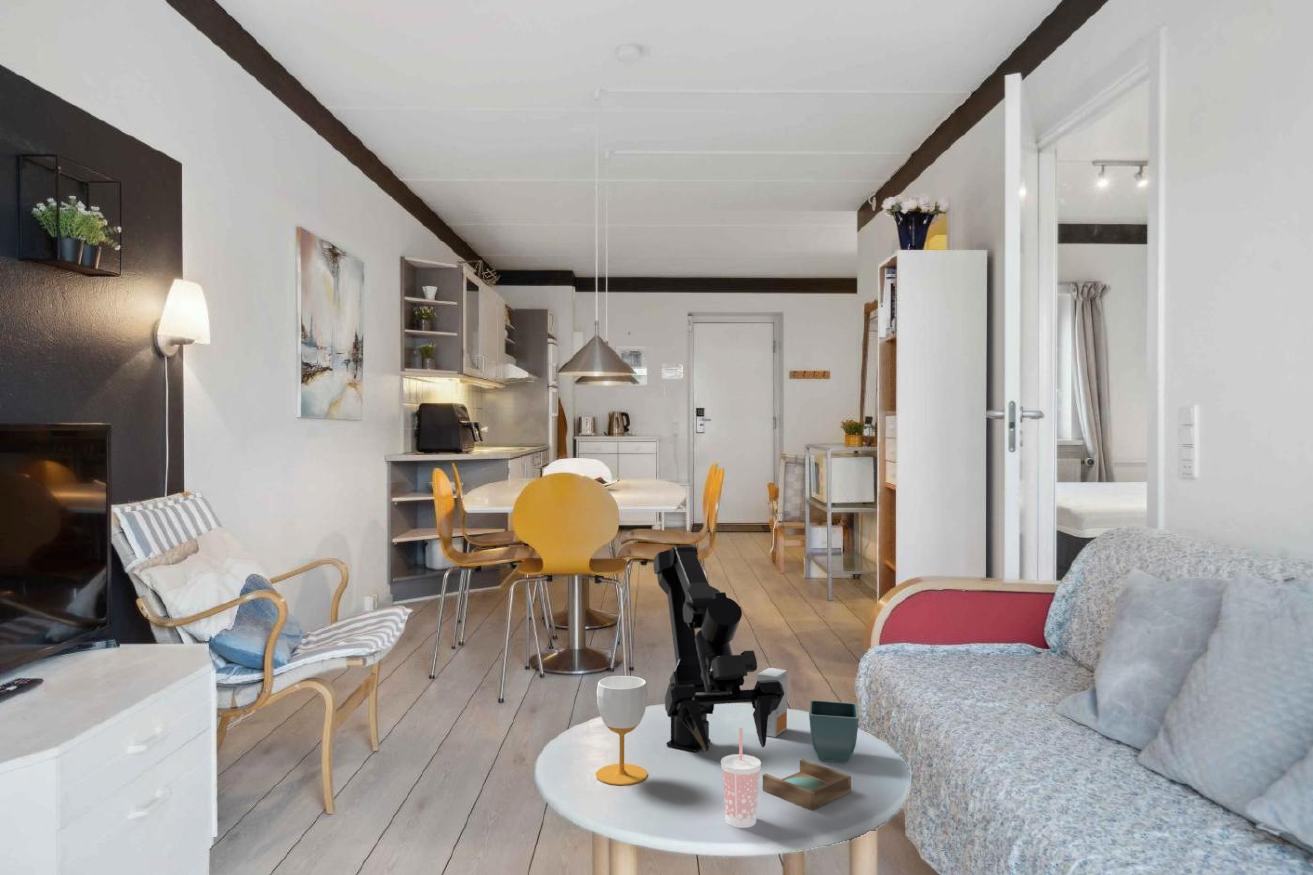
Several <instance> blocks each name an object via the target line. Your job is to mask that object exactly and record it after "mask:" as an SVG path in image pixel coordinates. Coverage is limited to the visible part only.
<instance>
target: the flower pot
mask: <svg viewBox="0 0 1313 875" xmlns="http://www.w3.org/2000/svg"><path fill="white" fill-rule="evenodd" d="M858 709H859V707H858V704H857V703H855V702H854V703H853V702H840V701H829V700H816V699H815V700H814V699H812V700H809V710H808V711H809V712H808V715H809V716H808V717H809V727H810V728H809V729H810V738H811V743H812V747H813V751H814V752H815V753H816V756H817V758H818V759H819V760H820V761H828V762H840V763H847V762H848V761H850V759H851V757H852V755H853V753H854V751H855V749H856V744H857V738H858V732H859V731H858V730H859V719H860V716H859V710H858Z"/></svg>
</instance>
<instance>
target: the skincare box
mask: <svg viewBox="0 0 1313 875" xmlns="http://www.w3.org/2000/svg"><path fill="white" fill-rule="evenodd" d="M762 680H778V681H779V682H780V683H781V684H782V686H783V690H784V693H785V694H784V696H783V698H782V700H781V702H780V704H779V706H778V708H777V709H776V710H774V711H772V713H771V714H770V715H768V722H767V734H766V737H771V738H776V737H778V735H780V734H781V733H783V732H784V731H786V730H787V728H788V670H785V669H780V668H775V667H774V668H773V667H768V668H766V669H764V670H762V671H761V672H759V673H757V675H756V682H757V681H762ZM755 733H756V734H757V730H756V732H755Z"/></svg>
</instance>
